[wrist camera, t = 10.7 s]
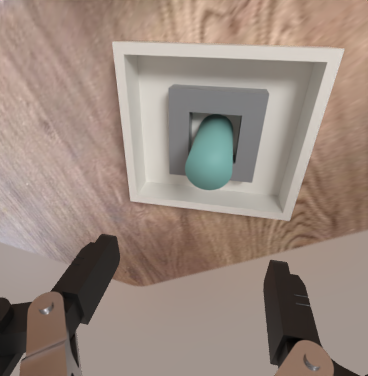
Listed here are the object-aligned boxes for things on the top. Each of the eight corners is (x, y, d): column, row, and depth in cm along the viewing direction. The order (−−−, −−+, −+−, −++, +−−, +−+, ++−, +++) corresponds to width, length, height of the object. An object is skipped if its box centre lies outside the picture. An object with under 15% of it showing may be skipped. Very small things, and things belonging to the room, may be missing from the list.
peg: (235, 115, 28) (235, 150, 20) (230, 148, 30) (229, 192, 22) (200, 112, 28) (185, 146, 20) (198, 145, 31) (184, 187, 22)
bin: (327, 46, 24) (344, 48, 20) (283, 199, 33) (289, 220, 30) (129, 40, 27) (112, 41, 23) (141, 183, 36) (130, 201, 32)
